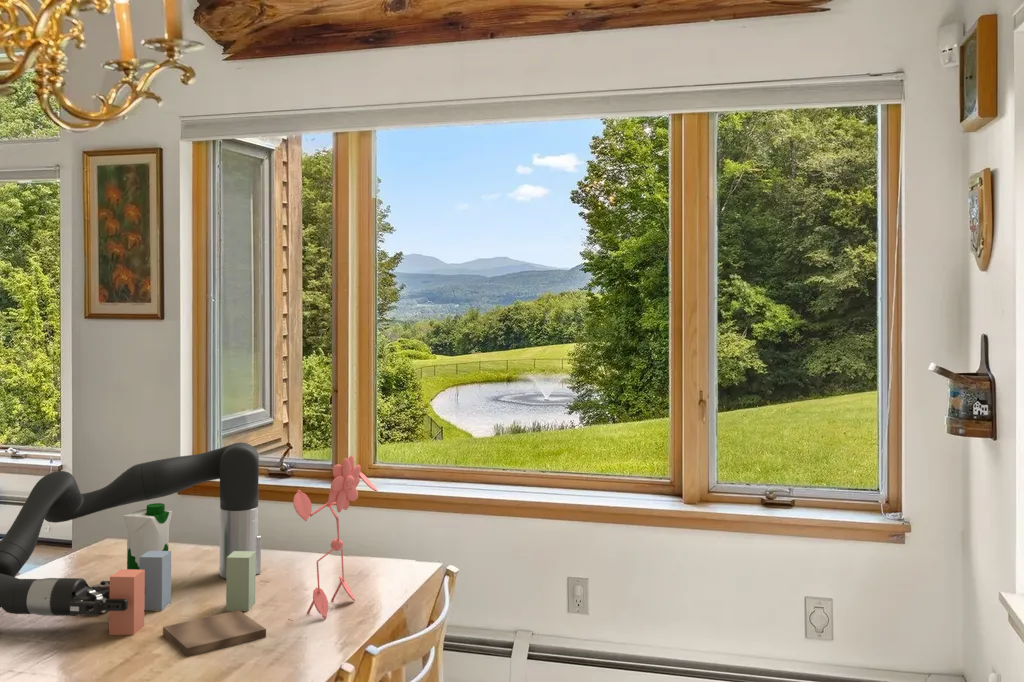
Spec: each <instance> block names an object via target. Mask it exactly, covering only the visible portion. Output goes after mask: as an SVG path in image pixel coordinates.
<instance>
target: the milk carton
mask: <svg viewBox="0 0 1024 682" xmlns="http://www.w3.org/2000/svg"><path fill="white" fill-rule="evenodd" d="M165 507H166V506H165V503H160V502H159V503H148V504H147V505H146V508H144V509H140V510H137V511H134V512H131V513H128V514H124V515H123V518H124V522H125V526H126V530H127V531H126V532H127V536H126V537H127V538H126V539H127V542H126V545H127V547H126V549H127V550H126V551H127V552H126V569H134V570H140V556H142V555H143V554H145V553H146V552H148V551H169V542H170V540H169V538H170V537H169V533H170V532H169V531H170V526H171V525H170V524H171V520H172V515H173V511H172V510H166V509H165Z"/></svg>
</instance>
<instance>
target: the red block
mask: <svg viewBox="0 0 1024 682" xmlns="http://www.w3.org/2000/svg"><path fill="white" fill-rule="evenodd" d="M109 581H110V599H127V601H128V608H127V609H126V610H125V611H109V613H108V614H109V617H108V618H109V619H108V620H109V621H108V622H109V624H108V625H109V626H108V627H109V628H108V629H109V630H108V631H109V632H108V633H109V635H110V636H111V635H114V636H115V635H116V636H127V635H128V636H134V635H136V634H135V633H136V632H137V633H138V632H139V631H140V630H141V629H143V628H144V627H145V611H144V605H145V570H134V569H127V568H126V569H124V568H122V569H119V570H118V571H116V572H115V573H113V574H111V575H110V576H109ZM143 626H144V627H143Z"/></svg>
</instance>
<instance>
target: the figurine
mask: <svg viewBox="0 0 1024 682" xmlns="http://www.w3.org/2000/svg"><path fill="white" fill-rule="evenodd" d="M332 476H333V480H332V482H331V484H330V491H329V495H328V498H327V499H328V501H327V502H326V503H325V504H323V505H322V506H320V507H319V508H318V509H316V510H314V511H313V512H312V507H313V506H312V501H311V499H310V498H309V497H308V495H307V494H306V493H304V492H302V491H301V490H300V489H298V490H297V491H296V493H295V494H294V497H293V501H292V503H293V508H294V510H295V512H296V514H297V515H298V516H299V517H300V518H301V519H302V520H303V521H305V522H307V521H308V520H309V518H310V517H312V516H314V515H316V514H317V513H318V512H320V511H322V510H323V509H324V508H326V507H328V508H329V509H330V512H331V513H332V515H333V516H334V518H335V519H336V520H335V521H336V523H335V524H336V534H337V538H334V539H333V540H332V541H331V543H330V548H331V550H329V551H328V552H326V553H325V554H324V555H323V556H321V557H320V558H318V559H317V560H316V578H317V587H315V589H313V591H312V592H313V593H312V602H311V604H310V605H309V607H308V609H307V612H306V613H307V614H310V612H311V611H312V609H313V607H315V609H316V611H317V612H318V613H319V615H320V616H321V617H322V618H323V620H326V619H327V617H328V613H329V609H330V608H329V601H328V597H327V595H326V592H325V591H324V590H323V589H322V588H320V586H321V585H320V573H319V572H320V571H319V562H320V561H321V560H323V559H324V558H325V557H326V556H328V555H330V554H331V553H332V552H334V551H335V552H338V551H341V552H340V553H341V554H340V557H341V574H342V575H339V577H338V578H339V583H338V586H337V587H336V590H335V592H334V594H333V595H332V597H331V601H332V602H334V600H335V598H336V596H337V594H338V592H339V591H340V588H341V586H342V588H343V589H344V591H345V593H346V594H347V595H348V597H349V598H350V599H352V601H353V602H355V601H356V599H355V597H354V594H353V592H352V590H351V588H350V586H349V585H348V583H347V582H346V580H345V571H344V570H345V569H344V551H343V547H344V542H343V541H342V540H341V539H340V523H339V522H340V521H339V516H338V515H337V513H341V512H342V511H343V510H344V511H348V508H349V507H350V502H355V501H356V500H358V498H359V491H358V490H357V487H358V486H359V484H360V481H362V482H363V483H364V484H365V485H366V486H367V487H369V489H371V490H372V491H374V492H378V489H377V488H376V487H375V485H374V484H373V482H372V481H371V480H370V479H369V478H368V477H367V476H366V474H364V473H363V472H362V467H361V464H356V465H355V457H354V456H353V455H351V454H350V456H349V457H348V458H347V457H345V458H343V460H342V464H338V463H337V464H334V466H333V467H332ZM333 505H336V512H337V513H336V512H335V511H334V508H333V507H332V506H333ZM287 620H288V621H291V622H293V620H292V619H289V618H287Z"/></svg>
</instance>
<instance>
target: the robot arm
mask: <svg viewBox="0 0 1024 682" xmlns="http://www.w3.org/2000/svg"><path fill="white" fill-rule="evenodd" d="M259 462H260V456H259V452H258V451H257V448H255V447H254V446H253V445H251V444H250V443H248V442H235V443H232V444H229V445H225V446H222V447H220V448H216V449H212V450H210V451H206V452H202V453H197V454H196V453H195V454H189V455H181V456H174V457H169V458H168V457H167V458H162V459H161V458H160V459H156V460H151V461H145V462H140V463H137V464H134V465H132V466H131V467H129V468H128V469H126V470H125V471H123V472H122V473H121V474H120V475H119V476H117V477H116V478H115V479H114V480H113V481H112V482H110V483H109V484H107V485H106V486H104V487H102V488H99V489H96V490H93V491H89V492H85V493H81V491H80V487H79V485H78V482H77V480H76V478H75V476H74V475H72V473H70V472H69V471H65V470H57V471H53V472H50V473H48V474H46V475H44V476H43V477H41V478H40V479H39V480H38V481H37V483H35V485H34V486H33V488H32V489H31V491H30V493H29V494H28V496H27V498H26V501H24V503H23V505H22V507H21V508H20V510H19V512H18V515H16V518H15V519H14V521H13V522H12V524H11V526H10V528H9V529H8V531H7V532H6V533H5V535H4V536H3V537H2V539H1V540H0V609H2V610H3V611H5V612H6V613H8V614H11V615H13V614H15V615H36V616H45V617H46V616H48V617H49V616H50V617H52V616H53V617H58V616H59V617H77V616H99V615H100V613H107V612H108V611H109V612H110V611H125V610H126V609H127V608H128V601H127V599H110V580H101V581H100V582H99V584H100V585H99V584H95V585H92V586H89V584H88V582H87V581H86V579H84V578H81V577H78V578H77V577H75V578H74V577H46V578H18V577H16V576H17V574H18V573H19V572H20V571H21V570H22V568H23V567H24V565H25V564H26V563H27V562H28V560H29V559H30V558H31V555H32V554H33V552H34V550H35V548H36V545H37V543H38V540H39V536H40V534H41V530H42V526H43V524H44V521H46V522H48V523H55V524H57V523H63V522H68V521H71V520H72V521H73V520H77V519H80V518H82V517H85V516H89V515H92V514H95V513H99V512H102V511H105V510H108V509H112V508H116V507H120V506H121V507H122V506H124V505H129V504H133V503H138V502H142V501H143V502H145V501H149V500H153V499H159V498H163V497H167V496H171V495H173V494H174V495H175V494H176V493H180V492H181V491H185V490H186V489H189V488H192V487H194V486H196V485H197V486H198V485H199V484H202V483H205V482H209V481H215V480H219V508H220V509H219V566H218V567H219V568H218V569H219V576H220V577H221V578H222V579H226V570H227V557H228V556H229V555H230V554H231V553H232V552H233V551H256V575H257V574H261V569H262V568H261V566H262V537H261V535H259V480H260V479H259V477H260V475H259V473H260V470H259V469H260V467H259V466H260V465H259V464H260V463H259ZM145 594H146V587H145ZM91 610H92V611H91Z"/></svg>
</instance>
